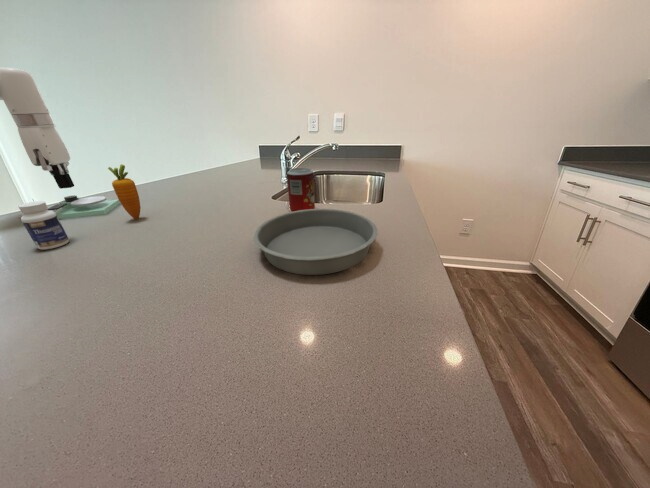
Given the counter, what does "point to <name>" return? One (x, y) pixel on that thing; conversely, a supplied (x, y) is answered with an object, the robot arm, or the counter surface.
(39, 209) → the pill bottle
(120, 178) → the carrot
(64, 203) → the scale display
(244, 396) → the counter surface
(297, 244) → the cake pan
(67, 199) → the tare button
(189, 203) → the counter surface
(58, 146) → the robot arm
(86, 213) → the scale
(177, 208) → the counter surface
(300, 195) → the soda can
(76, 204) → the weighing plate
